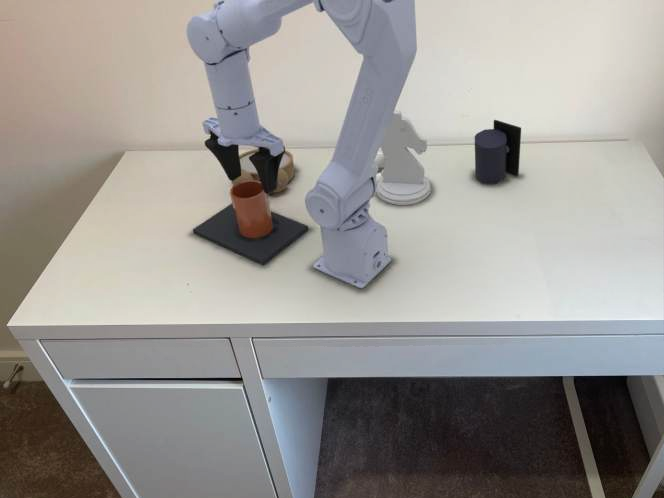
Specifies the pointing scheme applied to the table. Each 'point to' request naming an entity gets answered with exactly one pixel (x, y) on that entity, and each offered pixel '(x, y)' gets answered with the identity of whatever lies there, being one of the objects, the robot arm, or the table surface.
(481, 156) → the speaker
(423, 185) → the chess piece
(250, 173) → the alarm clock
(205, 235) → the drain mat
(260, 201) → the cup
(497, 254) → the table surface
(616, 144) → the table surface
